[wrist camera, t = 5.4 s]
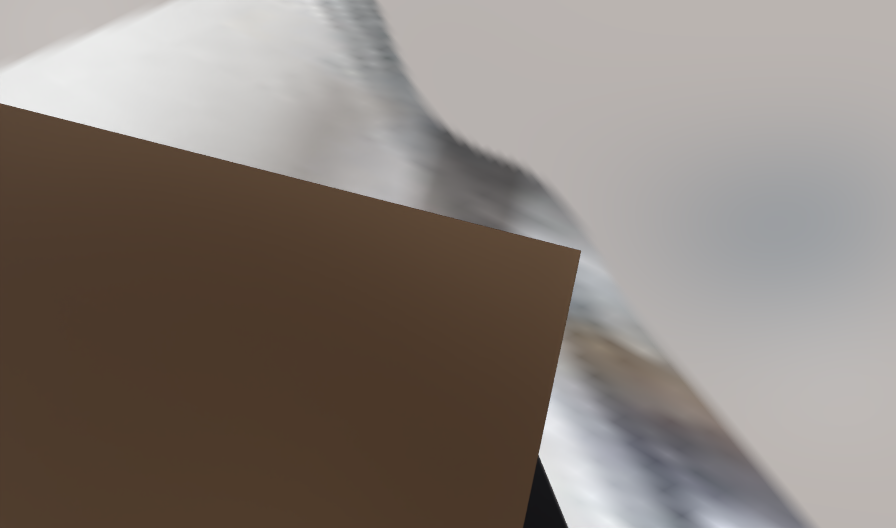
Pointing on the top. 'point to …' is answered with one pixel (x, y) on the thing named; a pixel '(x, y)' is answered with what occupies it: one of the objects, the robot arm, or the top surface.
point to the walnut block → (258, 346)
